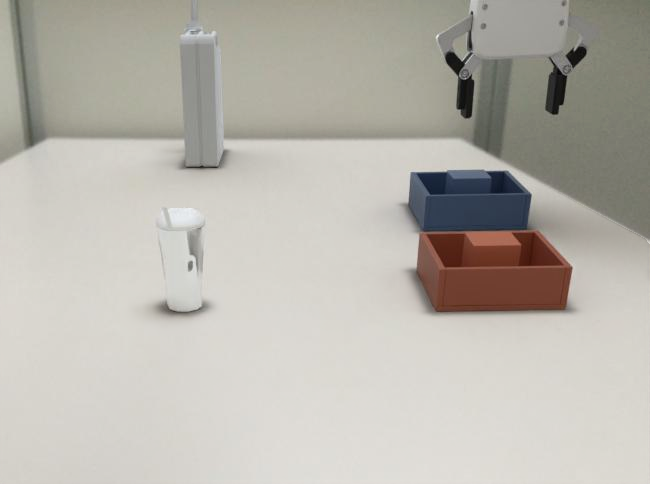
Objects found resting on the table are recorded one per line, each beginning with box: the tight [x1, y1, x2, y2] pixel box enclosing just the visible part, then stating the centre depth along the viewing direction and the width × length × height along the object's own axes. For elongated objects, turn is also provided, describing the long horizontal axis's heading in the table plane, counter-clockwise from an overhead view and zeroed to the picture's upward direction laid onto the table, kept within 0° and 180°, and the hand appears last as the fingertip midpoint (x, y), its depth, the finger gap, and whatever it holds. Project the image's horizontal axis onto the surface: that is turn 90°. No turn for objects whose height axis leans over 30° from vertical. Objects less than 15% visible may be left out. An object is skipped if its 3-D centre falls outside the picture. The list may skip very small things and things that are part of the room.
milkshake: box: [155, 207, 206, 313], centre depth 90 cm, size 4×5×10 cm
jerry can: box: [179, 0, 225, 168], centre depth 143 cm, size 15×5×25 cm, turn 177°
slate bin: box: [407, 169, 533, 232], centre depth 117 cm, size 12×12×4 cm
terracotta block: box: [461, 231, 521, 267], centre depth 94 cm, size 4×4×4 cm
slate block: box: [445, 169, 492, 195], centre depth 117 cm, size 4×4×4 cm
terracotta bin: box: [415, 229, 573, 312], centre depth 95 cm, size 12×12×4 cm
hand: (508, 114), depth 109 cm, fingers open, 9 cm apart
